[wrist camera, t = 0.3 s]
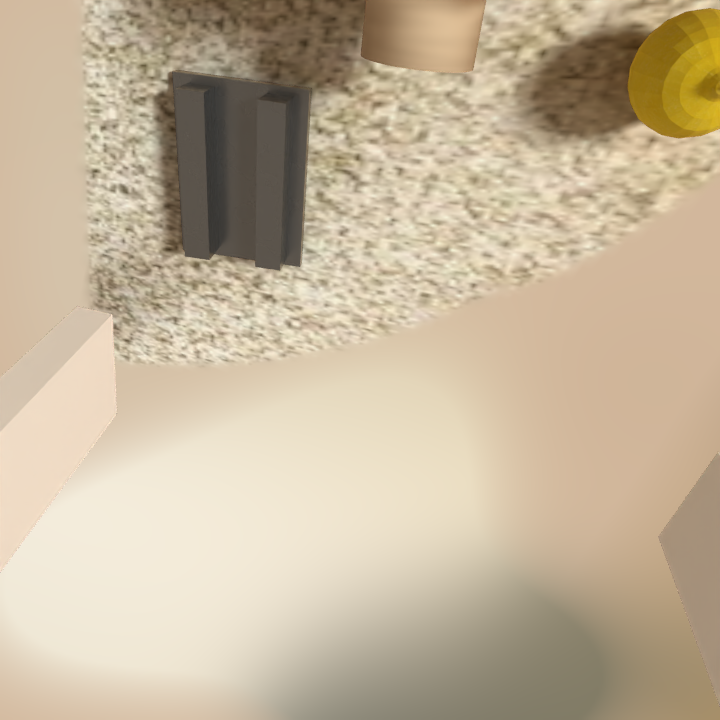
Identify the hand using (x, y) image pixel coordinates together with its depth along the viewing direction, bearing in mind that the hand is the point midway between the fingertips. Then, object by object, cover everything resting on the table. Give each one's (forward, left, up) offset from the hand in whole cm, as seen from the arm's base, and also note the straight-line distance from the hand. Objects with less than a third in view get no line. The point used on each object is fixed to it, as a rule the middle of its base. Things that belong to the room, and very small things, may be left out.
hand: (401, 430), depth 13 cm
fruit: (-5, +12, -27) cm, 30 cm away
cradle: (+4, -11, -27) cm, 29 cm away
